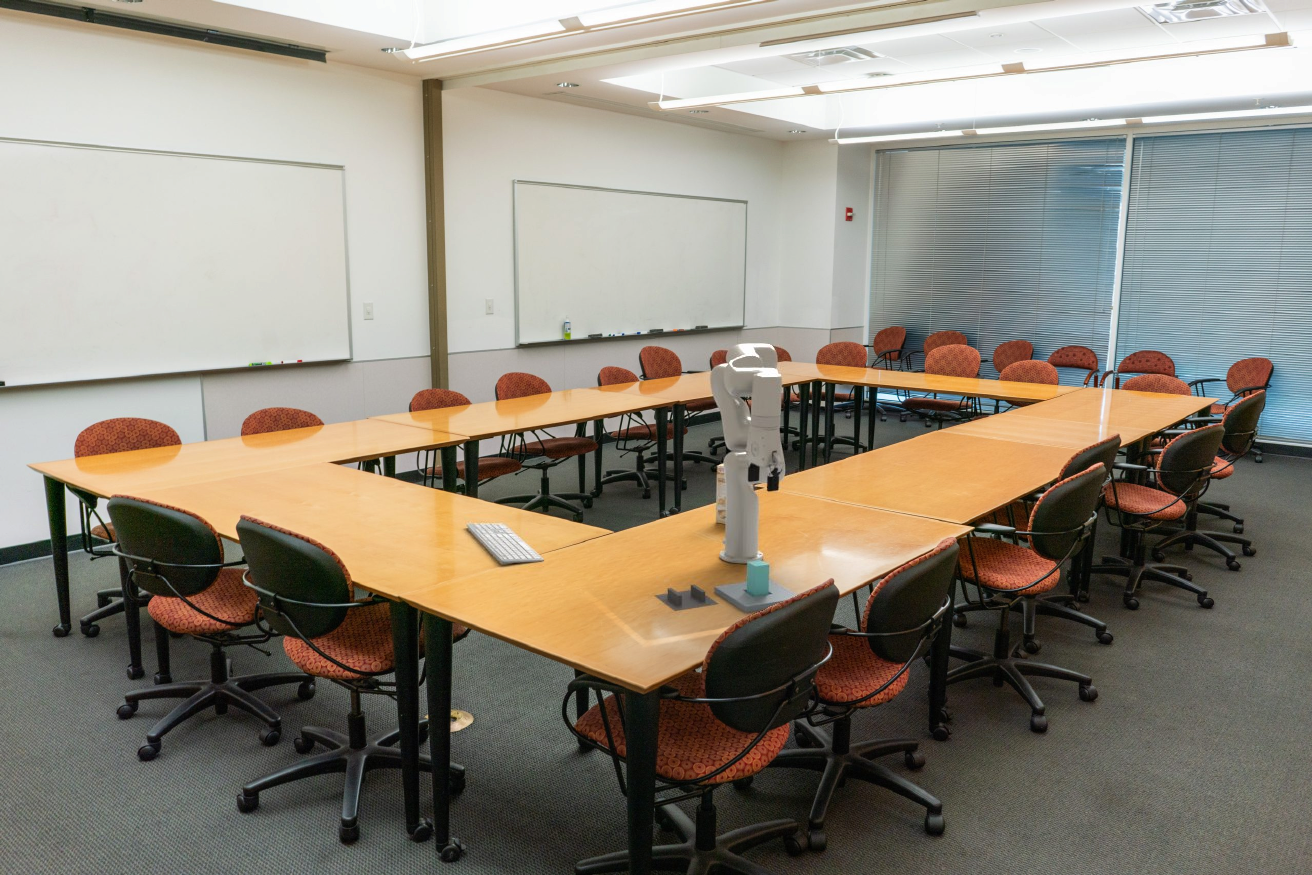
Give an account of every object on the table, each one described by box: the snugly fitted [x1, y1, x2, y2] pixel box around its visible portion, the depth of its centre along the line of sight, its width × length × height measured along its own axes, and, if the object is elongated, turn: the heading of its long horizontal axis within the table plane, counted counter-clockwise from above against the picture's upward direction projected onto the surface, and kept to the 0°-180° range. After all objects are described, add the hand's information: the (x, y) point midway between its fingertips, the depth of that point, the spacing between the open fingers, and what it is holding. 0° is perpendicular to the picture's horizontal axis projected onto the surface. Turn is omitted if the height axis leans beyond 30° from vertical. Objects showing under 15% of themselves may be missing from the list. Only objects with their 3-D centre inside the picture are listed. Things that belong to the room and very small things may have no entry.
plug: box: [746, 559, 770, 597], centre depth 231 cm, size 4×4×10 cm
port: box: [713, 578, 798, 614], centre depth 232 cm, size 16×16×2 cm
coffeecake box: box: [715, 462, 754, 525], centre depth 310 cm, size 15×7×20 cm, turn 148°
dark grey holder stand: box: [654, 584, 720, 612], centre depth 230 cm, size 12×12×4 cm
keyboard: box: [465, 522, 545, 566], centre depth 281 cm, size 44×12×2 cm, turn 24°
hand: (762, 485), depth 239 cm, fingers open, 9 cm apart
